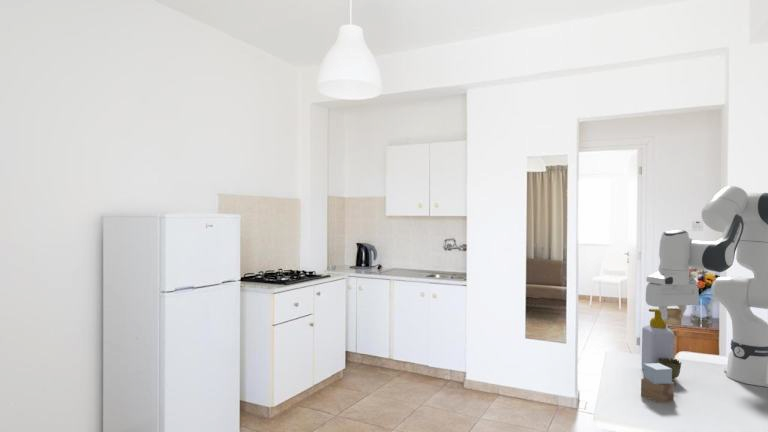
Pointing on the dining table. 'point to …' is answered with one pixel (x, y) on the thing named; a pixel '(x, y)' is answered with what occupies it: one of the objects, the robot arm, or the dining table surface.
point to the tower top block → (657, 373)
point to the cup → (671, 366)
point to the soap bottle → (657, 340)
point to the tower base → (657, 391)
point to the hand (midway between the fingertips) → (672, 318)
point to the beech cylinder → (673, 316)
